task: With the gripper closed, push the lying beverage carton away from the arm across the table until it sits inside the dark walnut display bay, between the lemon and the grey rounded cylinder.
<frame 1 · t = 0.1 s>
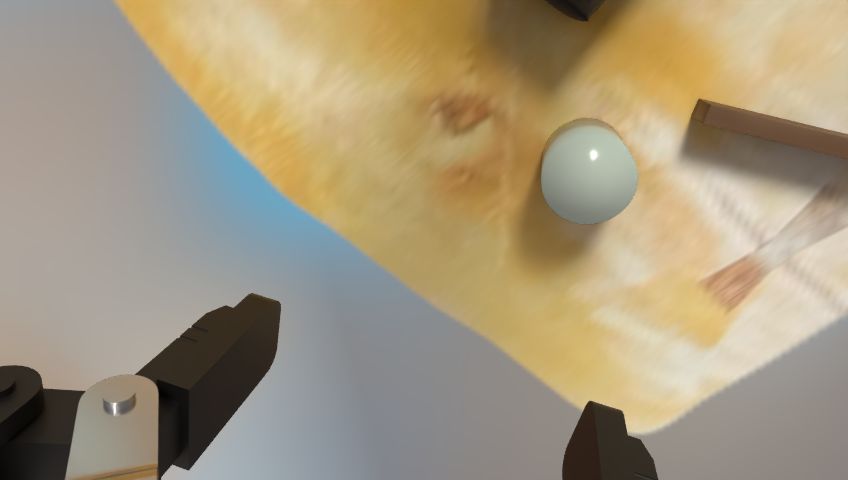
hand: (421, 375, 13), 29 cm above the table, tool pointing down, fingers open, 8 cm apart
grey rounded cylinder: (583, 158, 38), on the table
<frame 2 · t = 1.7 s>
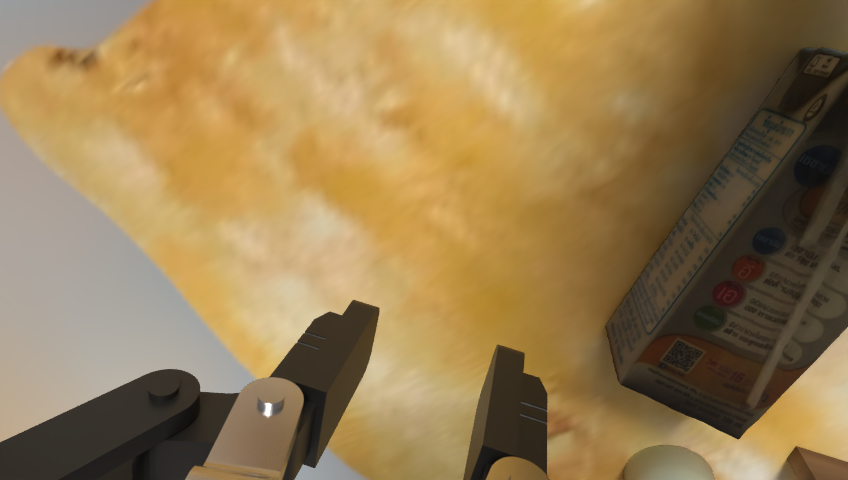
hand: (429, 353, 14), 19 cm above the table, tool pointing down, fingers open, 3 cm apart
beverage carton: (746, 230, 29), on the table
grey rounded cylinder: (667, 476, 37), on the table
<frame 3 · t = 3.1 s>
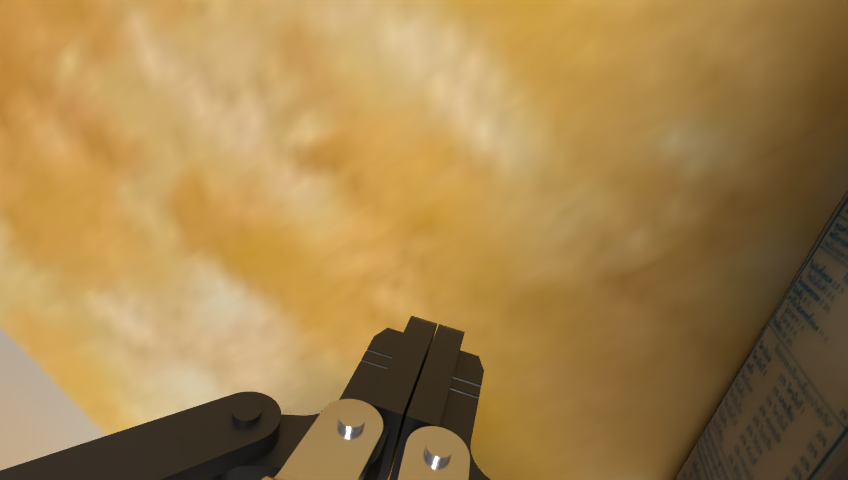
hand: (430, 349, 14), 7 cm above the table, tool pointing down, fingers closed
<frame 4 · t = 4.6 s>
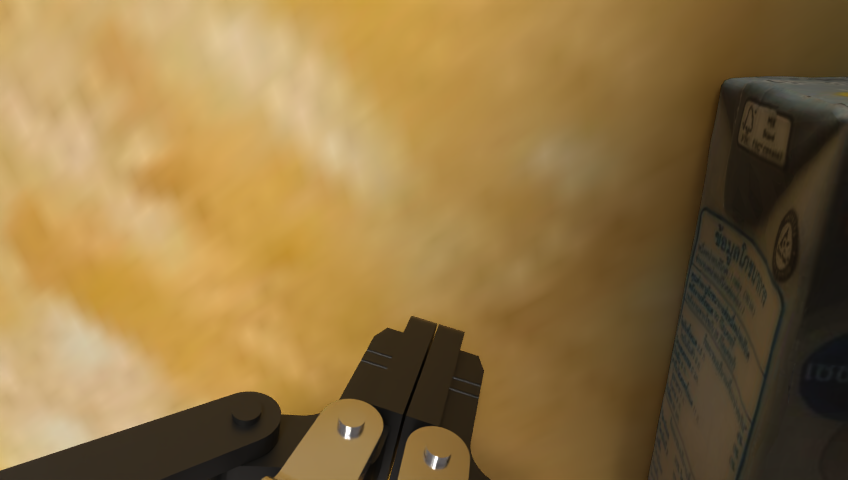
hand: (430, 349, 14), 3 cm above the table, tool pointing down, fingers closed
beverage carton: (793, 389, 16), on the table
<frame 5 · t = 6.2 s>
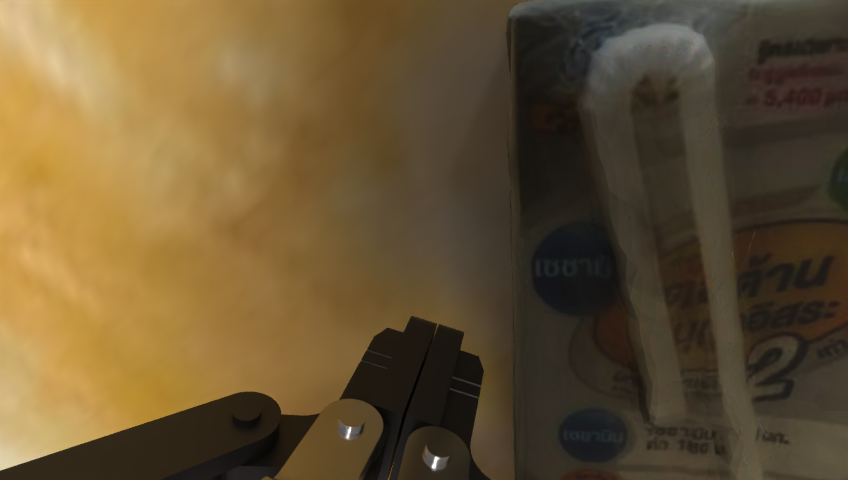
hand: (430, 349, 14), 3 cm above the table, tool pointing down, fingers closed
beverage carton: (645, 324, 16), on the table
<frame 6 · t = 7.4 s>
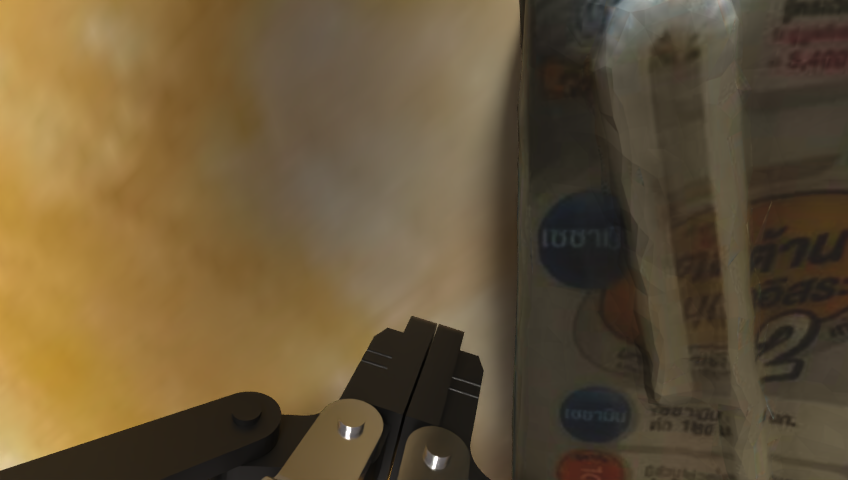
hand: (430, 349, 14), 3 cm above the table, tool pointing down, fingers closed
beverage carton: (647, 310, 16), on the table, touching gripper
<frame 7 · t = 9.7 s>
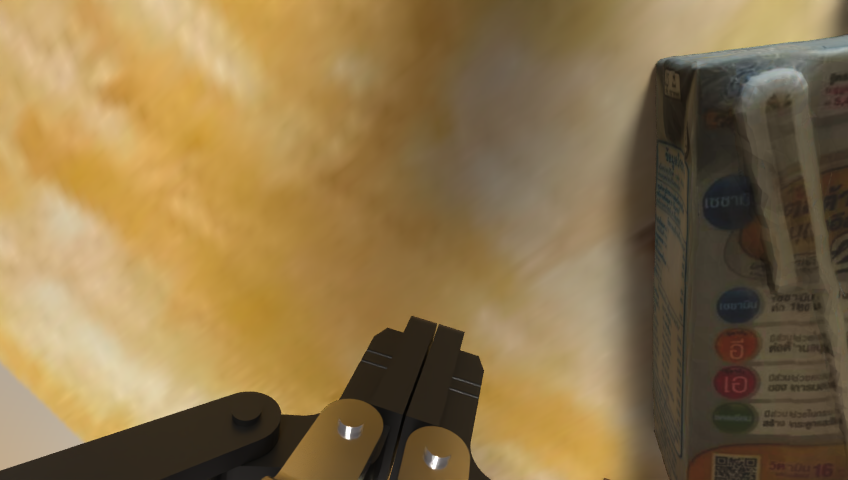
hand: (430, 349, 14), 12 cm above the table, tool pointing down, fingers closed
beverage carton: (741, 261, 23), on the table
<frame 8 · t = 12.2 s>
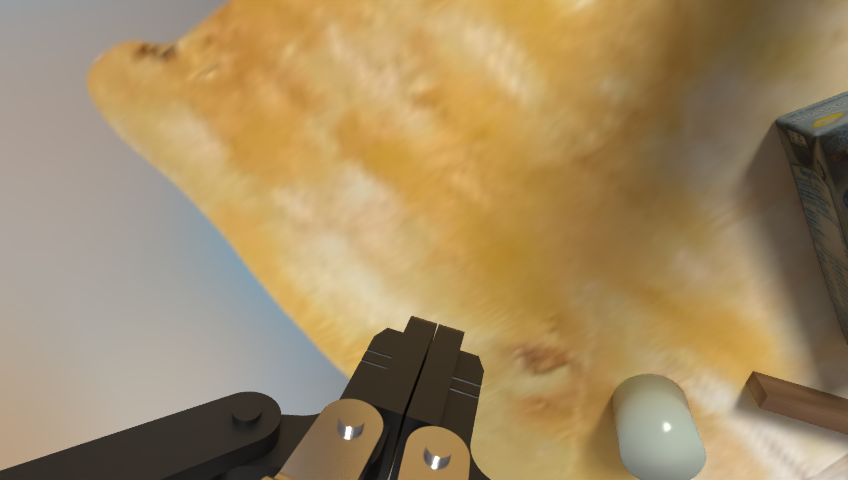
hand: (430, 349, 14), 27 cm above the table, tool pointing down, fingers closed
grey rounded cylinder: (648, 402, 44), on the table
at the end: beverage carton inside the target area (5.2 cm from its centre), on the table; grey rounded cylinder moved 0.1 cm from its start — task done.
